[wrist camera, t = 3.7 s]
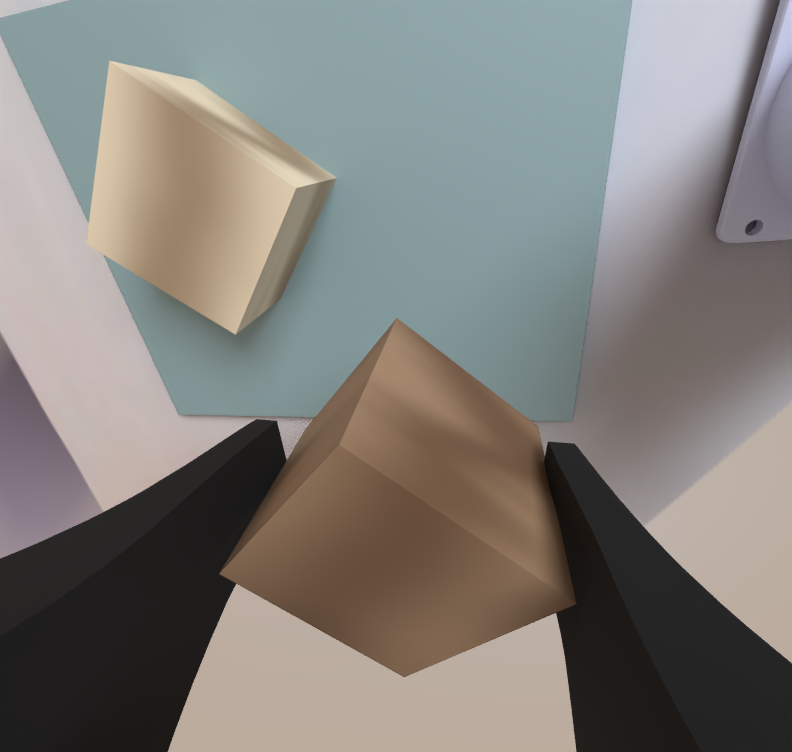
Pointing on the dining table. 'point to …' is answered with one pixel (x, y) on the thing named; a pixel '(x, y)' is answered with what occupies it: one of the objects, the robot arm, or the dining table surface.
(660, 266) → the dining table surface
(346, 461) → the walnut cube
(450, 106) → the mat
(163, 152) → the maple block
